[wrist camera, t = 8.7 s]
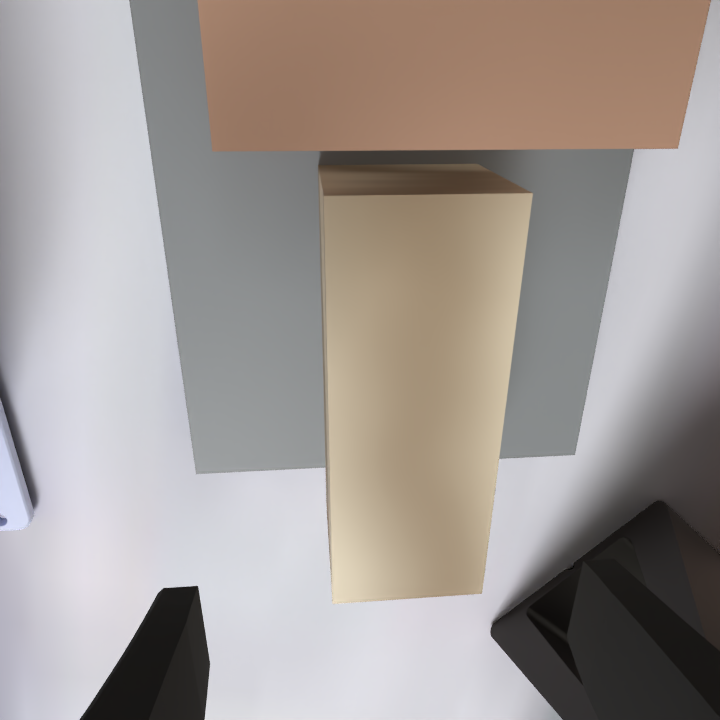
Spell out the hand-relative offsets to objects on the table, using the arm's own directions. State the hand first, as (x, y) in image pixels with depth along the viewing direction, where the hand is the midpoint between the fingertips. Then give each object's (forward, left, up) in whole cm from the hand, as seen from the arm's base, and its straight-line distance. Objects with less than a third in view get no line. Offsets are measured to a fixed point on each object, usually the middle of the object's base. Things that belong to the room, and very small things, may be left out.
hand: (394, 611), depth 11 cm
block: (+1, +2, -7) cm, 8 cm away
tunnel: (+1, +10, -7) cm, 12 cm away
